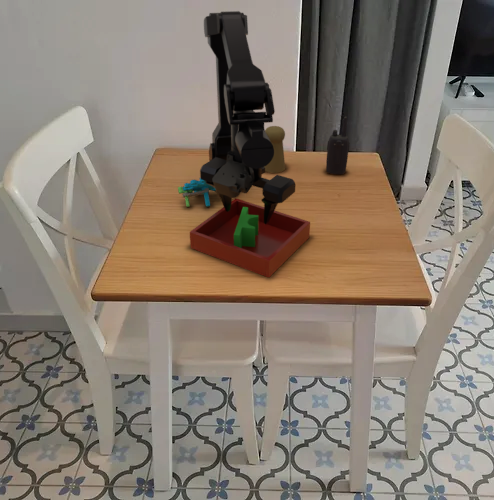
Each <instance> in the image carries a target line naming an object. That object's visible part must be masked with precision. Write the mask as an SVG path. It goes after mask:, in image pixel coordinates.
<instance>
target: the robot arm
mask: <svg viewBox="0 0 494 500" xmlns="http://www.w3.org/2000/svg"><path fill="white" fill-rule="evenodd" d="M248 25H249V23H248V15H246V14H245V13H244V12H241V11H239V10H236V11H235V10H233V11H232V10H231V11H229V10H227V11H226V10H225V11H220V12H209V14H208V15H206V16H205V17H204V19H203V32H204V37H205V38H206V39H207V44H208V46H209V48H210V49H211V51H212V52H213V54H214V56H215V69H216V70H215V71H216V72H215V73H216V93H217V95H216V97H217V117H218V122H217V125H216V126H215V128H214V130H213V132H211V133H212V134H211V136H212V139H211V142H210V143H209V148H208V159H209V161H207V162H206V163H204V164H202V165H201V167H200V169H199V176H200V177H199V178H201V180H205V181H206V183H207V184H209V185H211V186H212V187H214V188H215V189H216V191H215V192H216V194H217V195H218V196H219V198H220V202H221V204H222V205H223V207H224V208H225V210H226V211H227V212H228V211H229V210H230V208H231V203H232V201H233V199H235V198H238V197H239V196H240V194H241V193H243V194H248V193H249V191H251V189H252V187H255V188H260V189H262V196H263V198H261V202H262V203H263V204H264V206H263V207H264V224H267V223H268V222H269V220H270V218H271V216H272V214H273V212H274V211H276V209H277V206H278V205H279V204H283V203H284V202H285V201H286V200H287V199H289V198H290V197H291V196H292V195H293V194H295V193H296V182H295V180H294V179H293V178H290V177H287V176H283V175H280V174H276V175H274V176H273V177H271V178H270V179H269V178H265V177H262V175H263V174H265V173H266V171H265V166H266V165H268V164H269V163H270V162H271V160H272V158H273V156H274V148H273V145H272V143H271V141H270V139H269V138H268V136H267V134H266V132H265V130H266V129H265V124H267V123H273V122H274V118H273V116H274V115H275V112H276V110H275V104H274V98H273V92H272V88H270V84H269V83H268V82H266V80H265V77H264V73H263V70H262V69H261V68H259V67H258V66H256V65H255V64H254V63H253V59H252V54H251V51H250V46H249V42H248V39H247V38H248V37H247V36H248V35H249V28H248V27H249V26H248ZM264 109H265V111H261V110H264Z"/></svg>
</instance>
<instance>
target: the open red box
mask: <svg viewBox="0 0 494 500" xmlns="http://www.w3.org/2000/svg"><path fill="white" fill-rule="evenodd" d="M243 207H248V215H258V235H255V247H248V246H242V248H240V247H237V246H234V233H235V230H236V227H237V224H238V221H239V218H240V215H241V211H242V208H243ZM310 233H311V221H308V220H305V219H303V218H299V217H296V216H293V215H290V214H286V213H284V212H280V211H278V210H274V212H273V214H272V216H271V218H270V220H269V222H268V223H267V224H264V206H262V205H259V204H255V203H252V202H249V201H246V200H243V199H240V198H238V197H236V198H233V199H232V203H231V208H230V210H229V211H228V212H227V211H226V210H225V208H224V206H223V207H221V208H220V209H218V210H217V211H216V212H215V213H213V214H212V215H211V216H209V217H208V218H207V219H205V220H204V221H202V222H201V223H200V224H199V225H196V226H195V227H194V228H193V229H192V230H190V231H189V244H190V249H192V250H194V251H198V252H201V253H203V254H206V255H208V256H210V257H213V258H216V259H219V260H221V261H224V262H226V263H230V264H232V265H235V266H237V267H239V268H242V269H245V270H248V271H251V272H253V273H256V274H258V275H261V276H264V277H266V278H270V277H271V276H272V275H273V274H274V273H275V272H276V271H278V269H280V267H281V266H282V265H284V263H285V262H286V261H287V260H288V259H289V258H291V257H292V256H293V255H294V253H296V251H297V250H299V249H300V248H301V246H303V244H304V243H306V242H307V240H308V239H310Z"/></svg>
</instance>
